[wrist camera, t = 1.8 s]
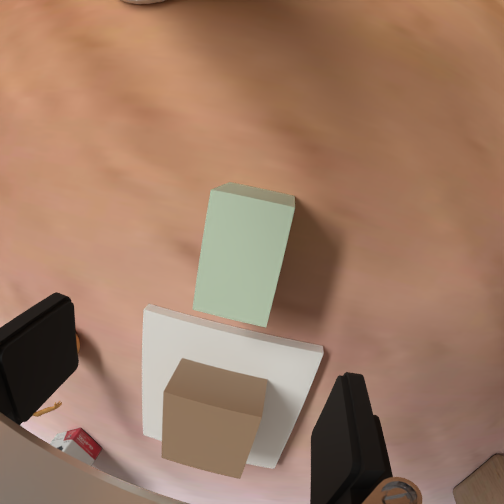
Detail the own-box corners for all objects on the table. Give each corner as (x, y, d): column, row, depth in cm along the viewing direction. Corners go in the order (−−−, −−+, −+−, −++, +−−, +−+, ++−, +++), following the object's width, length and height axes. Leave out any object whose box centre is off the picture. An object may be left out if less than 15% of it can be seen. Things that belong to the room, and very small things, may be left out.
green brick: (230, 182, 24) (211, 189, 19) (294, 195, 24) (295, 207, 18) (213, 277, 27) (192, 309, 21) (272, 291, 27) (266, 327, 21)
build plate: (149, 303, 28) (117, 337, 22) (322, 345, 27) (327, 390, 21) (146, 428, 34) (127, 463, 28) (274, 461, 33) (270, 501, 27)
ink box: (81, 426, 36) (42, 481, 25) (104, 449, 37) (70, 504, 26) (56, 433, 38) (20, 479, 27) (76, 453, 39) (45, 500, 28)
